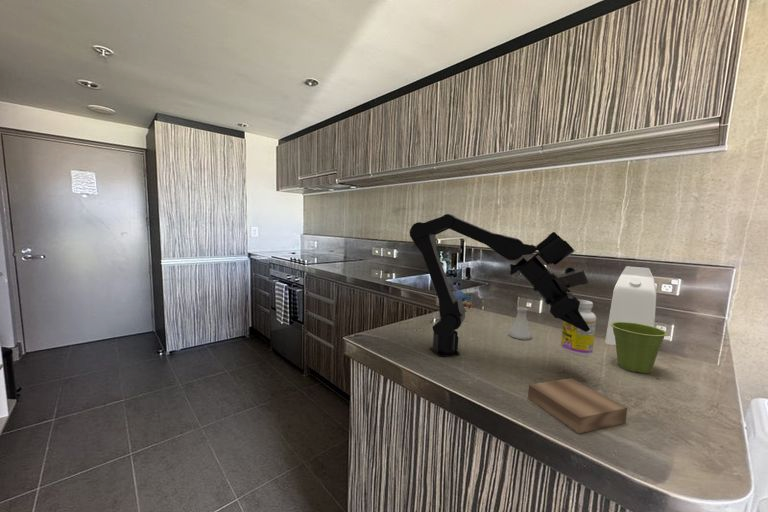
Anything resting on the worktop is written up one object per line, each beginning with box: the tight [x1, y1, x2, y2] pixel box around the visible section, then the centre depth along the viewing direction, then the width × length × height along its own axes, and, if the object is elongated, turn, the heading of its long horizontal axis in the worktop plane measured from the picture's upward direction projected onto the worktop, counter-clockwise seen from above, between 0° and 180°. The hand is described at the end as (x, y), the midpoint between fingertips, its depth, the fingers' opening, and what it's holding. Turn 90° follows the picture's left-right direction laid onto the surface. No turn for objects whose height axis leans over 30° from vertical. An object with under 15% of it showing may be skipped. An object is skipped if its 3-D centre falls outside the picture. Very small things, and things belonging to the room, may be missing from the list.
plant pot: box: [611, 322, 668, 374], centre depth 83 cm, size 12×12×11 cm
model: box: [452, 284, 475, 307], centre depth 150 cm, size 12×9×9 cm
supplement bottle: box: [560, 298, 597, 357], centre depth 75 cm, size 7×7×13 cm
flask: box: [508, 307, 533, 341], centre depth 106 cm, size 7×7×10 cm
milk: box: [604, 265, 657, 346], centre depth 102 cm, size 12×12×26 cm
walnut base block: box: [527, 377, 628, 434], centre depth 62 cm, size 12×12×3 cm
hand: (585, 326), depth 75 cm, fingers closed on supplement bottle, 7 cm apart
